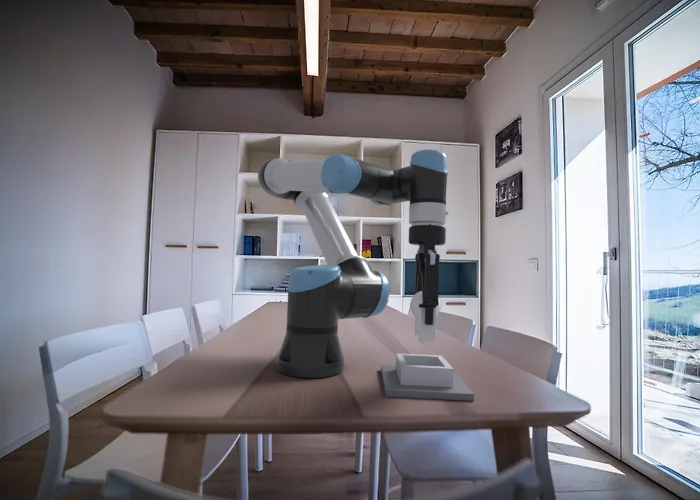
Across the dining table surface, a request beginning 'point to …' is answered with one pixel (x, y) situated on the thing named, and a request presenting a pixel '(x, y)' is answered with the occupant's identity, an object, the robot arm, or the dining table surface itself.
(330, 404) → the dining table surface
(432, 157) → the robot arm
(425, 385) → the lamp socket
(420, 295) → the lightbulb
